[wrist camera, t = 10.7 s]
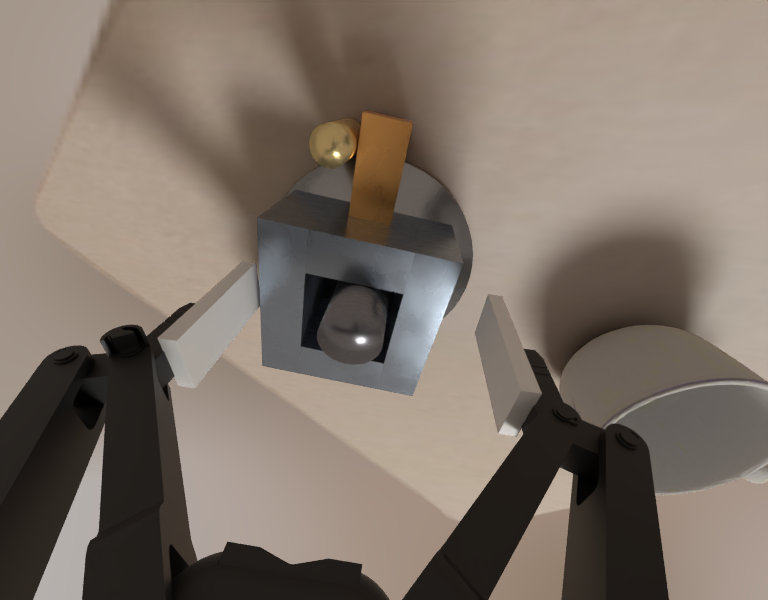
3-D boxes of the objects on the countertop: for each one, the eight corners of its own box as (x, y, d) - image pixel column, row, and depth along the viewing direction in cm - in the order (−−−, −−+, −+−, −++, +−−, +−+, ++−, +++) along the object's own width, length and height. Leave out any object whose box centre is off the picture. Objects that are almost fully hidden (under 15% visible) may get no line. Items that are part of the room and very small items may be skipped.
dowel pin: (350, 110, 17) (329, 112, 12) (371, 138, 17) (358, 150, 13) (327, 133, 17) (300, 143, 13) (348, 160, 18) (329, 177, 14)
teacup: (517, 362, 26) (554, 453, 19) (645, 275, 21) (757, 358, 14) (615, 430, 30) (674, 525, 23) (744, 370, 24) (870, 472, 18)
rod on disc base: (384, 95, 16) (360, 90, 9) (508, 278, 21) (556, 366, 14) (235, 245, 22) (147, 314, 15) (363, 360, 27) (345, 453, 20)
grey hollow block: (412, 341, 25) (412, 396, 20) (291, 315, 24) (262, 365, 20) (481, 137, 16) (507, 151, 12) (298, 93, 16) (252, 90, 11)
